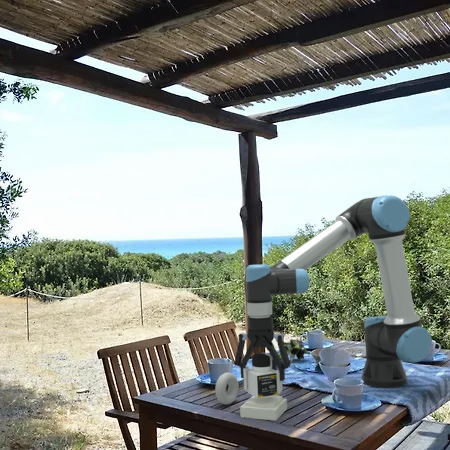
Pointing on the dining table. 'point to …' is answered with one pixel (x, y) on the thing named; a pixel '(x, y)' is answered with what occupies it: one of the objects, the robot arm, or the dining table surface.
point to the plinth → (264, 408)
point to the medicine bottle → (262, 377)
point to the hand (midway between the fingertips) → (263, 390)
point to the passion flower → (295, 349)
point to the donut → (232, 390)
